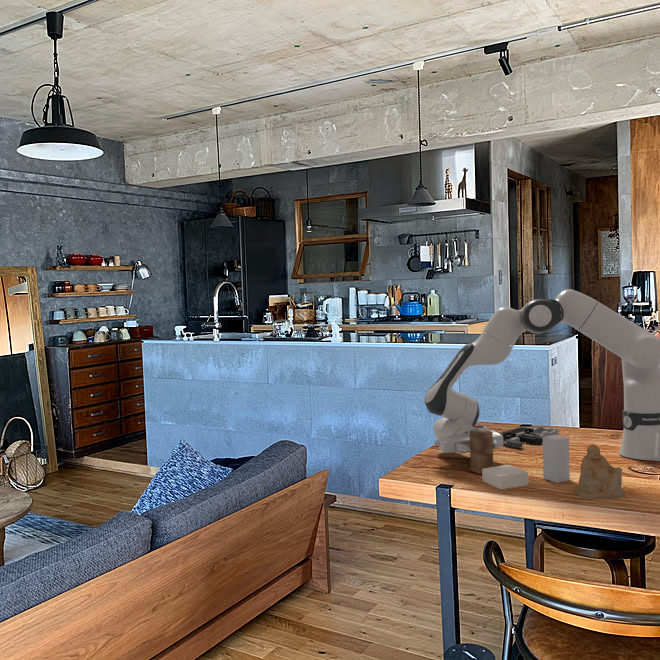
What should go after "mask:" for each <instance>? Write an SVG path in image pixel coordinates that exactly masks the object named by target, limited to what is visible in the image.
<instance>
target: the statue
mask: <svg viewBox="0 0 660 660" xmlns="http://www.w3.org/2000/svg"><path fill="white" fill-rule="evenodd" d="M622 473H623V468H621V467H620V466H617V467H615V466H613V465H611V464H610V463H609V461H608V460H607V458H606V457H605V456H603V455H602V454H601V449H600V447H599V446H598V445H596V444H591V445H588V447H587V448H586V455H585V456H583V457H582V460H581V463H580V475H579V480H578V485H577V486H576V487H575V490H574V494H575V493H576V494H577V495H576V494H575V495H576V496H578V497H581V498H583V497H584V498H583V499H587V498H588V499H589V500H593V499H603V500H615V499H620V498H625V497H626V495H625V490H624V489H623V487H622V484H623V475H622ZM588 499H587V500H588Z"/></svg>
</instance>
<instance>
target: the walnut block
mask: <svg viewBox="0 0 660 660" xmlns="http://www.w3.org/2000/svg"><path fill="white" fill-rule="evenodd" d="M489 430H490V429H488V430H486V429H478V430H470V452H469V456H470V457H469V458H470V459H469V461H470V463H469V464H470V470H471V471H473V472H474V473H476V472H477V474H482V469H483V468H490V467H494V449H493V434H492V432H491V431H489Z"/></svg>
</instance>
